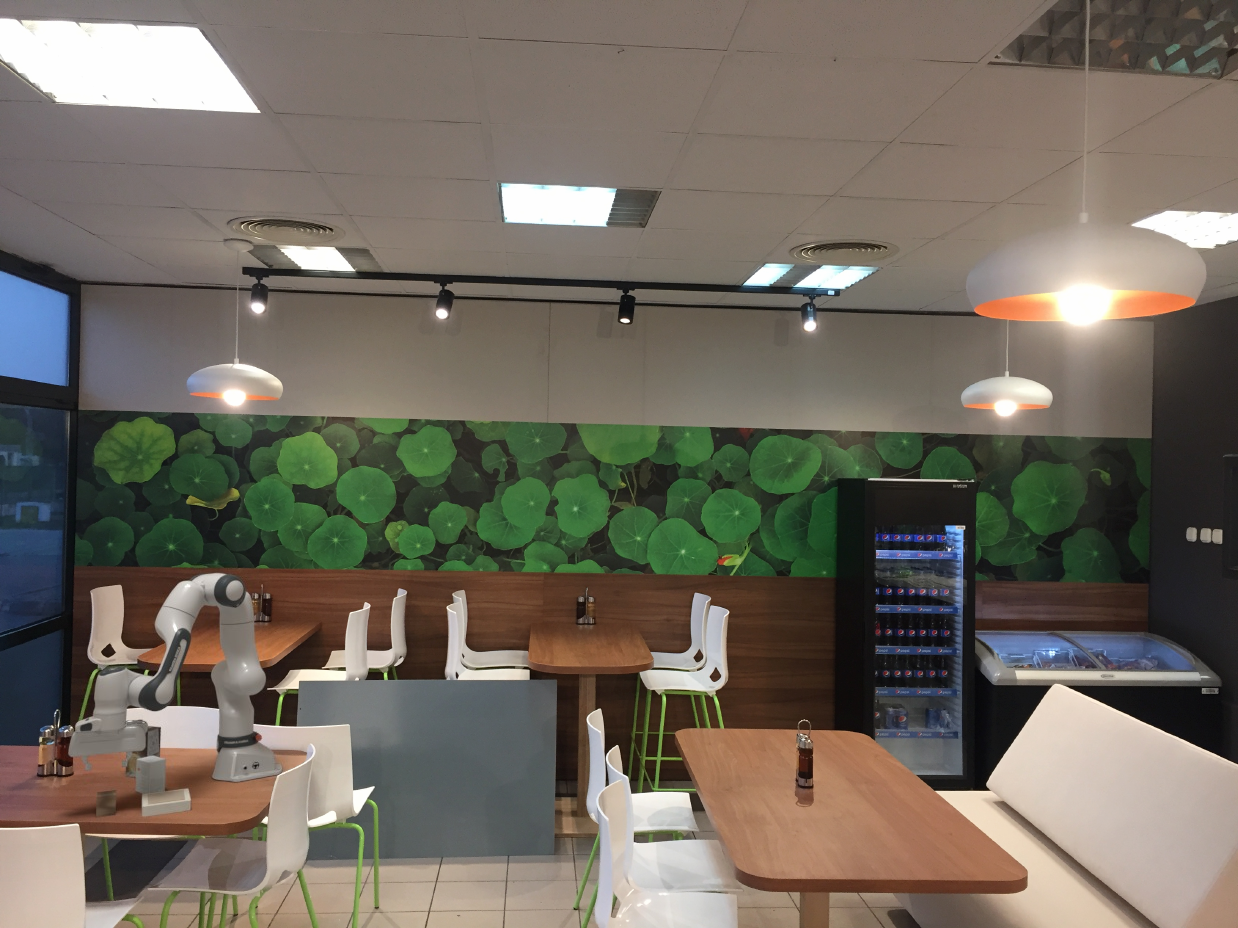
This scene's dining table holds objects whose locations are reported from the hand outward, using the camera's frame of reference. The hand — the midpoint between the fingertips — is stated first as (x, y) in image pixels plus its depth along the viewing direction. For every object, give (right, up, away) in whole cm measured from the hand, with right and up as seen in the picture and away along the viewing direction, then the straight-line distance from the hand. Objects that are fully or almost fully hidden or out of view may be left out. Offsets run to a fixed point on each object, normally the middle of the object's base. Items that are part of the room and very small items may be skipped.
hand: (106, 768), depth 263 cm
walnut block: (0, -14, 0) cm, 14 cm away
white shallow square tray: (+15, -14, +6) cm, 21 cm away
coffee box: (-10, -16, +38) cm, 42 cm away
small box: (+2, -15, +20) cm, 25 cm away
